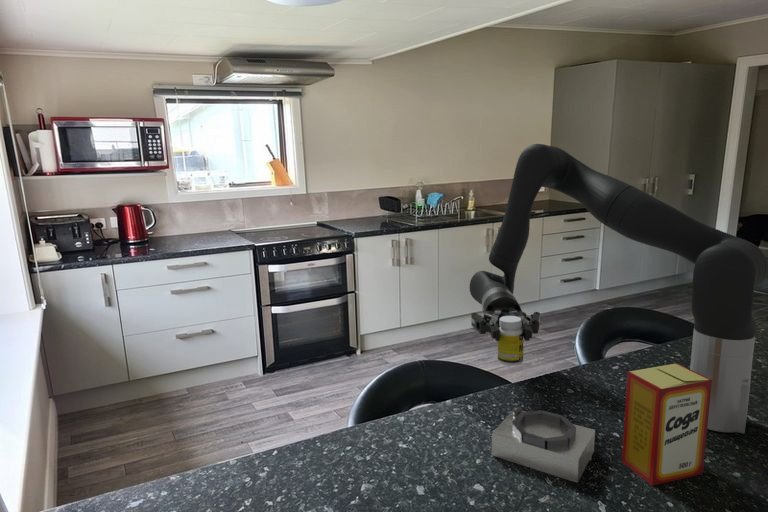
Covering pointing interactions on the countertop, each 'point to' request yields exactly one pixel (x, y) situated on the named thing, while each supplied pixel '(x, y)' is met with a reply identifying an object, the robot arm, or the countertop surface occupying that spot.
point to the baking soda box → (666, 423)
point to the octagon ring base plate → (544, 443)
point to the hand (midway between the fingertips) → (512, 335)
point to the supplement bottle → (510, 341)
